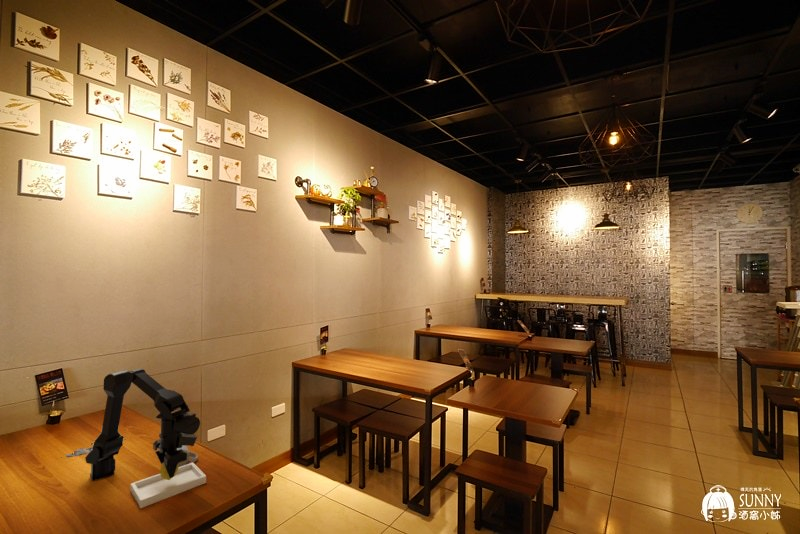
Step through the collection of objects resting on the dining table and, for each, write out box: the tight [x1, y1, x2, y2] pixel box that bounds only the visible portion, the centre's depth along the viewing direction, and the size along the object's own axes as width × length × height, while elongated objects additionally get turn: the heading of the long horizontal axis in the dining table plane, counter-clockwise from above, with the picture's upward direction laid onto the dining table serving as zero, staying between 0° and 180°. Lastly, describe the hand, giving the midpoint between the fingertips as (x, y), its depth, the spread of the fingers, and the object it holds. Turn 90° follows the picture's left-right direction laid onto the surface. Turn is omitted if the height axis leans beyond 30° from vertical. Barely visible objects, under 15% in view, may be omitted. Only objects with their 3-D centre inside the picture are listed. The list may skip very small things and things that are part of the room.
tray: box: [130, 462, 207, 509], centre depth 130 cm, size 20×14×2 cm
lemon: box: [159, 463, 178, 480], centre depth 130 cm, size 6×6×8 cm
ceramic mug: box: [177, 445, 199, 467], centre depth 146 cm, size 11×8×8 cm
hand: (169, 474), depth 130 cm, fingers closed on lemon, 5 cm apart
